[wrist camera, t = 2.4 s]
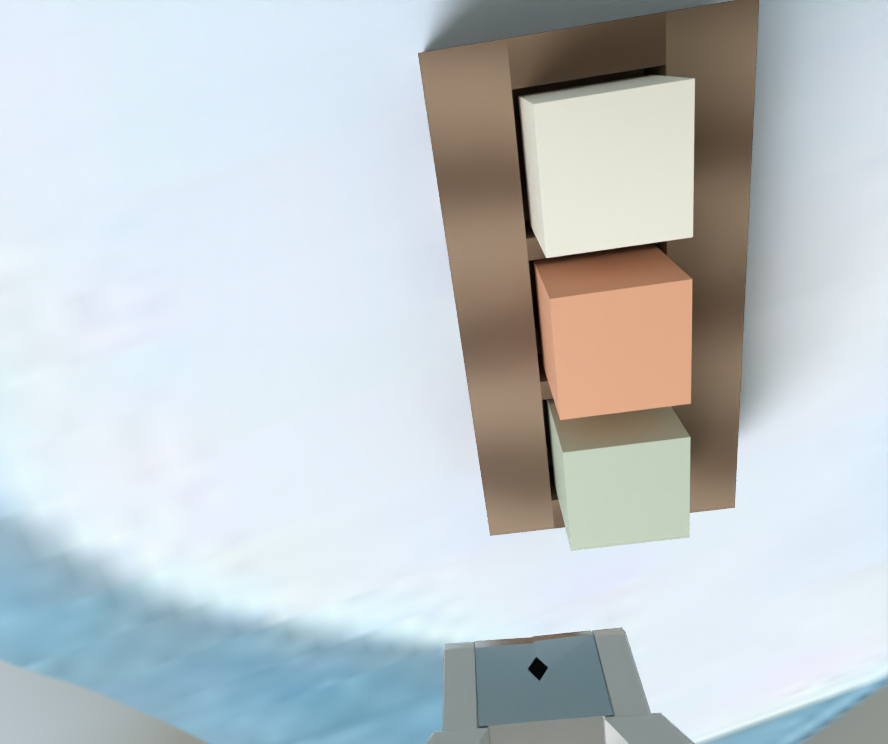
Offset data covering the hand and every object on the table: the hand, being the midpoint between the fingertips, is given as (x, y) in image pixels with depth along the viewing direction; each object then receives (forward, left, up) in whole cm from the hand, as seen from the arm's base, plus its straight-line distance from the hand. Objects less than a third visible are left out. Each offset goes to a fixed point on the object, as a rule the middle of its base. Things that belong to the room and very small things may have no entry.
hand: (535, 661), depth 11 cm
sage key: (+8, +5, -19) cm, 21 cm away
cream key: (-5, +5, -19) cm, 21 cm away
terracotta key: (+1, +5, -19) cm, 20 cm away
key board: (+1, +5, -23) cm, 23 cm away
